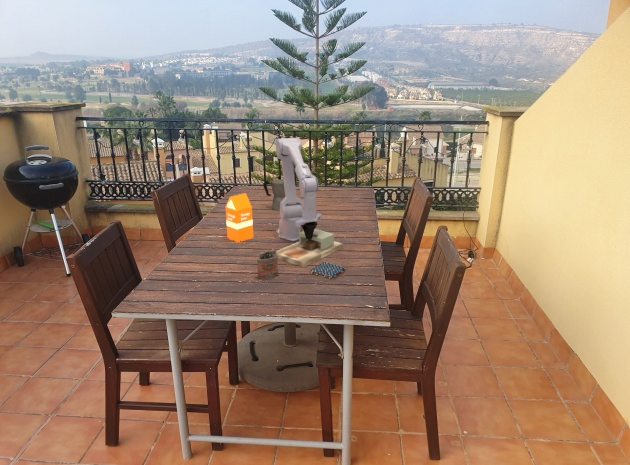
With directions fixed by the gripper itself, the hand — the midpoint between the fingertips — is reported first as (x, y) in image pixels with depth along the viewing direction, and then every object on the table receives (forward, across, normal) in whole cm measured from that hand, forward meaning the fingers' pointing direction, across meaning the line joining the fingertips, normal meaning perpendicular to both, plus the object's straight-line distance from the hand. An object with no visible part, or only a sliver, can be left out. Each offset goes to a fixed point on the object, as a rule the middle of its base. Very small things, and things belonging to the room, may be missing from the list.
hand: (308, 239), depth 189 cm
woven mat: (+7, -10, -18) cm, 22 cm away
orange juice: (+6, -6, +35) cm, 36 cm away
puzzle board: (+6, 0, 0) cm, 6 cm away
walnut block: (+6, +1, 0) cm, 6 cm away
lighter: (+6, -27, -3) cm, 28 cm away
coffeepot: (+6, +38, +53) cm, 65 cm away
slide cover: (+4, +5, 0) cm, 6 cm away
